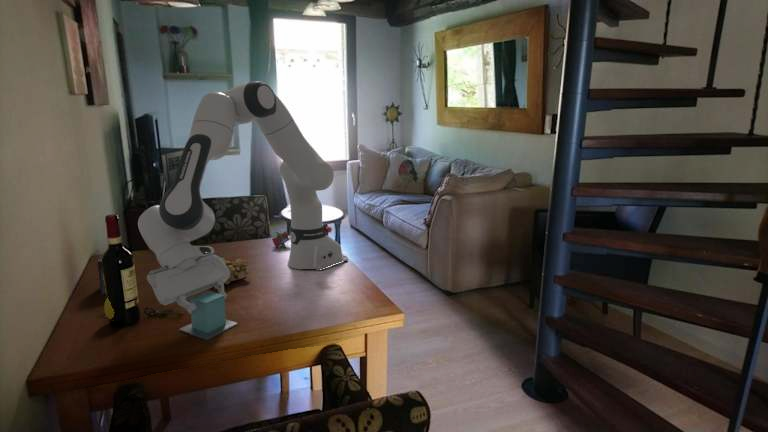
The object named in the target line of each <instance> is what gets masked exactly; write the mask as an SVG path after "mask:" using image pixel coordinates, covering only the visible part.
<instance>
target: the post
mask: <svg viewBox="0 0 768 432" xmlns="http://www.w3.org/2000/svg"><path fill="white" fill-rule="evenodd" d="M238 325H239V323H238V322H236V321H232V320H229V319H226V324H225V325H223V326H221V327H219V328H217V329H215V330H213V331H211V332H209V333H206V332H203V331H201V330H198V329H195V328H192V322H191V323H190V324H187V325H185V326H183V327H181V328H179V331H180V332H182V333H186V334H189V335H191V336H194V337H197V338H199V339H201V340H204V341H209V340H210V339H213V338H214V337H217V336H218V335H220V334H222V333H224V332H226V331H228V330H230V329H232V328H234V327H236V326H238Z"/></svg>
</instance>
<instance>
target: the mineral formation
mask: <svg viewBox="0 0 768 432" xmlns="http://www.w3.org/2000/svg"><path fill="white" fill-rule="evenodd" d="M220 258H221V260H222V261H223V262H224V263H225V265H226V266H227V268H228V269H229V271H230V277H229V278H228V279H227V280H226V281H225V282H224V285H229V284H230V283H231V282H234V281H240V280H242V279H244V278H245V277H246V275H250V274H251V272H252V271H251V270H249V269H248V268H246V267H248V263H249V262H248V260H244V259H241V258H237V259H236V260H235V261H230V260H227V259H226V260H225V258H224V257H220Z"/></svg>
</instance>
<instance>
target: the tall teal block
mask: <svg viewBox="0 0 768 432" xmlns="http://www.w3.org/2000/svg"><path fill="white" fill-rule="evenodd" d="M225 299H226V298H224V295H222V294H219V293H217V292H214V291H211V290H207V291H205V292H202V293H199V294H197V295H194V296H192V297H190V298H189V303H191V304H192V303H194V304H195V306H196V307H197V310H196V311H195V312H193V313H191V314H190V318H191V319H190V320H191V323H192V328H195V329H198V330H201V331H203V332H206V333H209V332H211V331H213V330H215V329H217V328H219V327H221V326H223V325H225V324H226V320H227V319H226V305H225V304H226V302H225Z"/></svg>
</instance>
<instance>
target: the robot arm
mask: <svg viewBox="0 0 768 432" xmlns="http://www.w3.org/2000/svg"><path fill="white" fill-rule="evenodd" d="M253 121H255V122H256V124H257V126H258V127H259V129H260V132H261V133H262V135H263V136H264V138H265V139H266V141H267V142H268V144H269V146H270V147H271V149H272V151H273V152H274V154H275V155H276V156H278V157H279V158H280V159H281V160H282V162H281V163H280V166H279V174H280V177H281V178H282V180H283V181H284V184H285V188H286V191H287V195H288V199H289V200H288V201H289V206H290V222H291V224H290V227H289V228H290V229H289V235H290V240H289V241H290V250H289V258H288V261H287V266H288V267H290V268H292V269H295V270H296V269H297V270H301V269H316V270H315V271H321V270H320V269H323V268H326V267H328V266H331V265H333V264H336V263H339V262H342V261H347V260H348V261H349V257H348V256H347V255H345V254H344V255H345V256H344V255H343V251H342V246H341V244H339V242H337V241H336V240H335V239H334V238H332V237H330V236H329V235H327V233H329V234H330V233H331V232H332V231H333V228H332V227H331V226H325V225H323V205H322V202H321V200H320V198H319V197H318V194H317V191H325V190H327V189H328V188H330V186H332V184H333V182H334V180H335V179H334V177H335V173H334V169H333V167H332V166H331V165H330V164H329V163H328V162H326V161H325V160H324V159H323V158H322V157H321V156H320V155H319V153H318V152H317V150H316V149H314V147H313V146H312V145H311V144H310V143H309V141H308V140H307V139H306V137H304V135H303V133H302V132H301V130H300V129H299V126H298V124H297V122H295V119H294V118H293V116H292V115H291V113H290V111H289V109H288V108H287V107H286V106H285V103H283V102H282V100H281V99H280V97H278V96H277V94H275V92H274V90H273V89H272V88H271V87H270V86H269V84H267V83H265V82H264V81H260V80H257V81H256V80H255V81H249V82H248V83H243V84H242V83H241V84H239V85H235V86H233V87H232V88H230V89H227V90H225V91H222V92H220V91H219V92H218V91H210V92H209V91H208V92H207V93H204V95H203V96H202V97H201V99H200V101H199V103H198V106H197V107H196V111H195V114H194V116H193V120H192V125H191V127H190V132H189V135H188V139H187V141H186V143H185V145H184V149H183V151H182V154H181V157H180V159H179V162H178V166H177V169H176V173H175V174H174V175H175V176H174V177H173V180H172V184H171V185H170V186H169V188H168V190H166V192H165V193H164V195H163V196H162V198H161V200H160V203H159V204H156V205H153V206H150V207H149V208H147V209H145V210H144V211H143V212H142V214H141V215H140V216H139V217H138V219H137V220H138V221H137V226H138V230H139V233H140V234H141V237H142V239H143V240H144V242H145V243H146V246H147V247H148V248H149V249H150V250H151V251H152V252H153V253H154V254H155V257H156V261H157V262H158V264H159V265H160V266H161V267H158V268H156V269H152V270H150V271H149V273H147V275H146V280H147V282H148V283H149V285H150V286H151V287H152V290H153V293H154V294H155V297H156V299H157V301H158V303H159V304H161V305H163V306H167V305H170V304H172V303H173V304H174V303H176V304H177V305H178V306H180V307H181V308H183V309H184V310H185V309H186V311H187V312H188V314H190V315H191V313H193V312H195V311H196V310H197V307H196V306H195V304H194V303H192V304H191V303H190V301H187V298H188V297H191V296H193V295H195V294H198V293H201V292H203V291H206V290H208V289H212V288H213V287H214V289H215V290H217V292H218V294H222V295H224V298H225V299H227V297H228V294H227V293H226V291H225V284H224V282H225V281H226V280H227V279H228V278H229V277H230V271H229V269H228V268H227V266H226V265H225V263H224V262H223V261H222V260H221V258H222V257H220V256H218V255H216V254H215V249H214V247H212V246H202V245H193V244H191V243H190V242H193V241H195V240H198V239H199V238H202V237H204V236H206V235H207V234H209V233H210V232H212V230H213V228H214V227H215V225H216V215H215V212H214V210H213V209H212V208H211V207H210V206H209V205H208V204H207V203H206V202H205V201H204V200H203V198H202V195H201V186H202V182H203V179H204V175H205V173H206V170H207V169H206V168H207V165H208V163H209V162H210V161H217V160H220V159H222V158H223V157H225V156H226V155H227V154H228V153H229V150H230V148H231V144H232V141H233V136H234V130H235V127H236V126H239V125H245V124H249V123H252V122H253ZM348 261H347V262H348Z"/></svg>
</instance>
